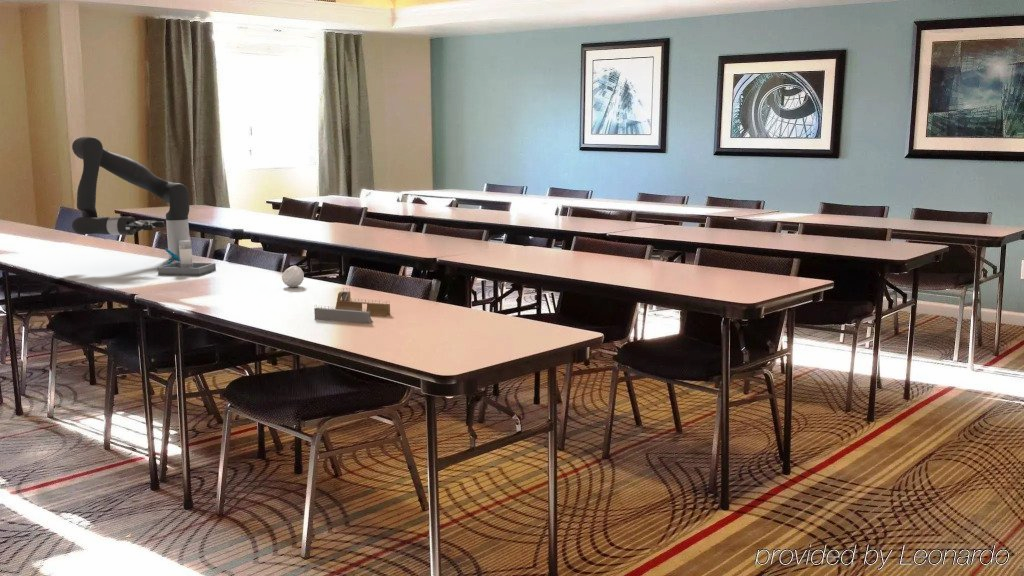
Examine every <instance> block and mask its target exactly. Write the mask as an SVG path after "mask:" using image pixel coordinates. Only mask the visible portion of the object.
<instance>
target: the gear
mask: <svg viewBox="0 0 1024 576" xmlns="http://www.w3.org/2000/svg"><path fill="white" fill-rule="evenodd" d="M164 250H165V252H167V253H169V254H170V255H172V256H171V258H170V259H169V260H168V262H167V263H165V265H168V264H171V263H173V262H174V261H175V260H176V261H177V262H180V259H179V258H178V257H177V255H176V254H173V253H172V252H171V251H169V250H168V247H166V248H165V249H164ZM169 254H168V255H169Z"/></svg>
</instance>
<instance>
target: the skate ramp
mask: <svg viewBox="0 0 1024 576" xmlns="http://www.w3.org/2000/svg"><path fill="white" fill-rule="evenodd" d="M377 302H378V303H377ZM335 304H336V305H335V306H334V307H333V308H330V306H325V307H324V306H320V307H316V304H315V305H314V309H313V310H314V320H318V321H320V320H321V321H330V322H341V323H342V322H344V323H356V324H365V325H366V324H371V323H373V322H374V321H373V319H372V318H371V316H372V317H385V318H386V317H388V316H390V315H391V304H390V303H389V301H385V303H382V302H381V301H380V299H379V300H376V302H375V300H371V302H369V301H367V299H366V298H365V299H363V298H362V301H361V299H360V298H357V301H355V300H353V298H351V288H346V287H345V288H342V290H340V291H339V292H338V294H337V299H336V303H335ZM363 304H365V305H366V309H365V308H363Z"/></svg>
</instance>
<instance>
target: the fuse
mask: <svg viewBox="0 0 1024 576" xmlns="http://www.w3.org/2000/svg"><path fill="white" fill-rule="evenodd" d="M179 253H180V265H181V268H193V263H194V262H193V251H192V240H191V239H190V240H182V241H179Z"/></svg>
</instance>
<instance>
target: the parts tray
mask: <svg viewBox="0 0 1024 576" xmlns="http://www.w3.org/2000/svg"><path fill="white" fill-rule="evenodd" d="M192 263H193V268H181V265H180V262H179V261H175V262H171V263H170V264H168V265H166V264H165V265H161V266H158V267H157V275H158V276H184V277H185V276H190V277H191V276H192V277H193V276H195V277H196V276H197V277H200V276H203V275H206V274H210V273H212V272H215V271H217V268H216V267H217V265H216V264H217V263H216V262H192Z"/></svg>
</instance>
